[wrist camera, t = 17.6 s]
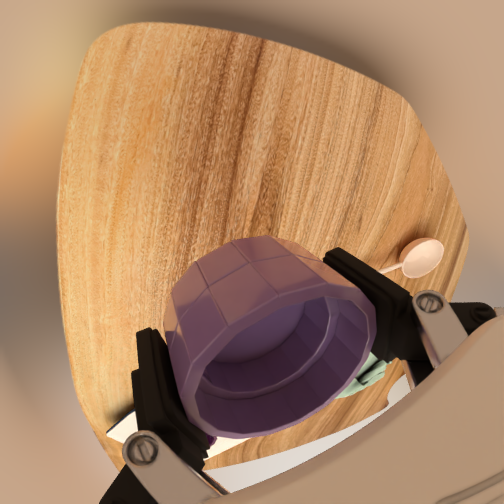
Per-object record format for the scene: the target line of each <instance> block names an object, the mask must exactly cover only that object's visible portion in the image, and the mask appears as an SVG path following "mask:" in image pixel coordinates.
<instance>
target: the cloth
mask: <svg viewBox="0 0 504 504" xmlns="http://www.w3.org/2000/svg"><path fill="white" fill-rule="evenodd" d="M390 363H392V361H391V362H389V363H388V364H390ZM388 364H387V363H386V362H385V361H384V360H383V359H382V360H379V359H377V358H376V357H375V356H374V355H373V354H372V353H371V352H370V354H369V357H368V358H367V361H366V362H365V364H364V365H363V366H362V368H361V369H360V371H359V372H358V374H357V375H356V377H355V378H354V379H353V381H352V382H351V383H350V385H349V386H348V387H347V388H346V389H344V390H343V391H342V392H341V393H340V394H339V395H338V396H337V397H336V398H335V399H337V398H342V397H343V398H344V397H347V396H350V395H353V394H354V393H356V392H358V391H360V390H363V389H364V388H365V387H367V386H370V385H372V384H374V383H375V382H376V381H378V380H379V379H381V378H382V377H383V376H384V374H385V372H384V370H385V369H386V365H388Z"/></svg>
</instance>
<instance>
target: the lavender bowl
mask: <svg viewBox="0 0 504 504" xmlns="http://www.w3.org/2000/svg"><path fill="white" fill-rule="evenodd" d="M163 327H164V332H165V337H166V342H167V346H168V351H169V355H170V360H171V364H172V369H173V373H174V377H175V381H176V385H177V389H178V392H179V396H180V400H181V402H182V405H183V408H184V411H185V414H186V417H187V419H188V421H189V422H190V423H192V424H193V425H195V426H196V427H198V428H199V429H201V430H202V431H204V432H205V433H207V434H208V435H211V436H217V437H224V438H231V439H245V438H253V437H259V436H266V435H270V434H273V433H275V432H278V431H281V430H284V429H286V428H289V427H291V426H294V425H296V424H298V423H300V422H302V421H304V420H305V419H307V418H309V417H310V416H312V415H313V414H315V413H317V412H318V411H320V410H321V409H323V408H324V407H326V406H327V405H328V404H329V403H331V402H332V401H333V400H334V399H335V398H336V397H337V396H338V395H339V394H340V393H341V392H342V391H343V390H344V389H346V388H347V387H348V386H349V385H350V383H351V382H352V381H353V379H354V378H355V377H356V375H357V374H358V372H359V371H360V369H361V368H362V366H363V365H364V364H365V362H366V361H367V358H368V357H369V354H370V351H371V348H372V345H373V343H374V340H375V337H376V334H377V324H376V310H375V306H374V305H373V304H372V303H371V301H370V300H369V299H368V298H367V297H366V296H365V294H364V293H363V292H362V291H361V290H360V289H359V288H358V287H357V286H355V285H354V284H353V283H351V282H350V281H349V280H347V279H346V278H344V277H343V276H342V275H340V274H339V273H338V272H336V271H335V270H334V269H332V268H331V267H330V266H328V265H327V264H325V263H324V262H322V261H321V260H320V259H318V258H317V257H316V256H314V255H313V254H311V253H310V252H309V251H307V250H306V249H304V248H303V247H302V246H300V245H299V244H297V243H294V242H291V241H287V240H284V239H280V238H277V237H273V236H270V235H269V236H267V235H264V236H257V237H251V238H244V239H237V240H232V241H231V242H228V243H226V244H224V245H222V246H221V247H219V248H217V249H215V250H214V251H212V252H210V253H208V254H206V255H205V256H203V257H201V258H199V259H198V260H197V261H194V262H193V264H192V265H191V266H190V267H189V269H188V270H187V271H186V272H185V273H184V275H183V276H182V277H181V278H180V280H179V281H178V282H177V283H176V284H175V286H174V287H173V288H172V292H171V293H170V296H169V300H168V304H167V308H166V311H165V315H164V319H163Z"/></svg>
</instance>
